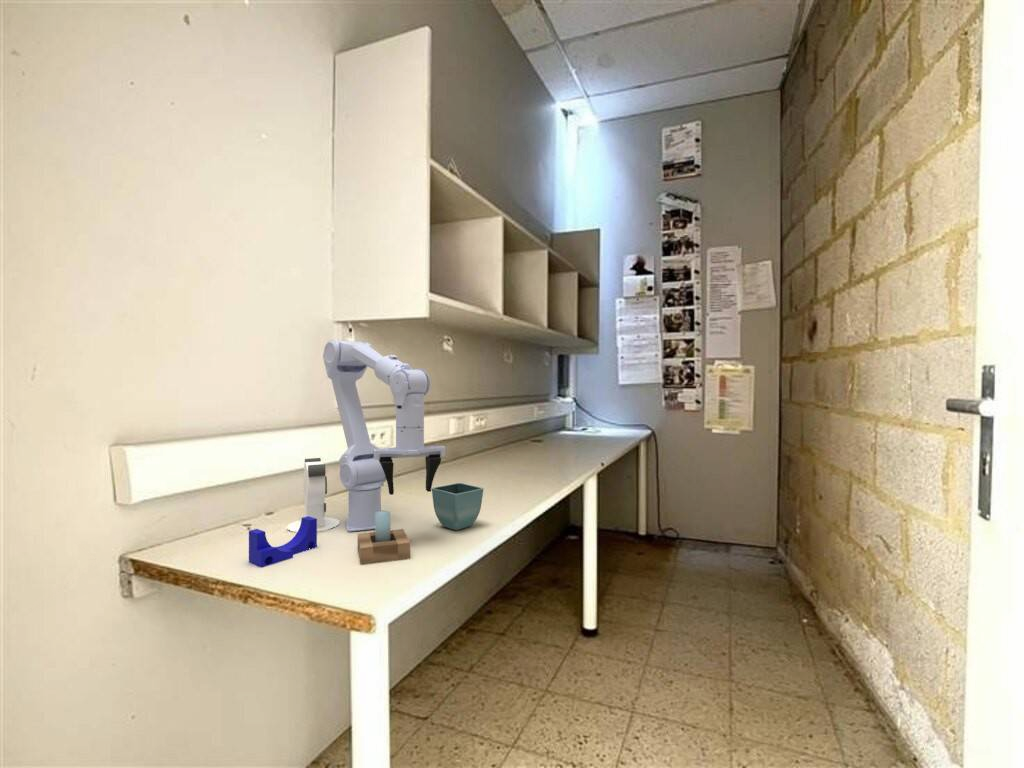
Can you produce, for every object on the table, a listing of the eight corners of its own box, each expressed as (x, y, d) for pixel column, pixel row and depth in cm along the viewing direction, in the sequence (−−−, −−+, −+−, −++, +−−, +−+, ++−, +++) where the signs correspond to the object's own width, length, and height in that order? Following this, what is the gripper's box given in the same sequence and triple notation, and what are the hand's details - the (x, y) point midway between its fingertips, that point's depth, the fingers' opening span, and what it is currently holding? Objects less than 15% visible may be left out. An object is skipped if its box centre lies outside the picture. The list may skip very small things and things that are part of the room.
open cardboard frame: (357, 548, 98) (357, 533, 98) (403, 543, 101) (403, 528, 101) (360, 564, 89) (360, 548, 89) (410, 558, 92) (410, 542, 92)
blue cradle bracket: (261, 568, 88) (261, 535, 88) (248, 563, 90) (248, 530, 90) (321, 549, 98) (321, 519, 98) (308, 545, 100) (308, 516, 100)
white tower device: (343, 529, 110) (343, 463, 110) (288, 537, 105) (288, 467, 105) (336, 516, 121) (336, 456, 121) (285, 522, 116) (285, 459, 115)
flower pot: (484, 526, 113) (484, 487, 113) (456, 535, 106) (456, 494, 106) (459, 518, 119) (459, 482, 119) (430, 527, 112) (430, 488, 112)
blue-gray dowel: (375, 551, 96) (375, 511, 96) (389, 550, 97) (389, 510, 97) (375, 556, 93) (375, 515, 93) (390, 555, 94) (390, 513, 94)
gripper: (375, 429, 95) (375, 499, 95) (448, 427, 101) (448, 493, 101) (372, 426, 102) (372, 491, 102) (441, 424, 107) (441, 486, 107)
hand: (410, 492), depth 102 cm, fingers open, 7 cm apart
